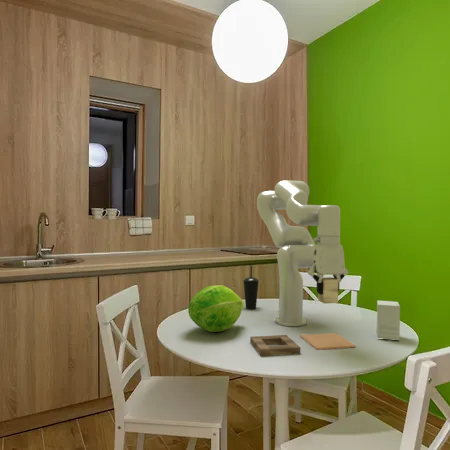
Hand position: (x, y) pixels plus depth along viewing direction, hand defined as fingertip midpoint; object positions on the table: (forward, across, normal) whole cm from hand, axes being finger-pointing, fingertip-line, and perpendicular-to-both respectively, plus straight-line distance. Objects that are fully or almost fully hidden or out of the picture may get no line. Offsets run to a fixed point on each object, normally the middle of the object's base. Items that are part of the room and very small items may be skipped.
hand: (327, 292), depth 133 cm
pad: (+17, 0, 0) cm, 17 cm away
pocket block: (+17, -20, -3) cm, 26 cm away
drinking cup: (+17, -14, +51) cm, 56 cm away
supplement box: (+17, +24, +1) cm, 30 cm away
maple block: (+3, 0, 0) cm, 3 cm away
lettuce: (+17, -35, +19) cm, 43 cm away
